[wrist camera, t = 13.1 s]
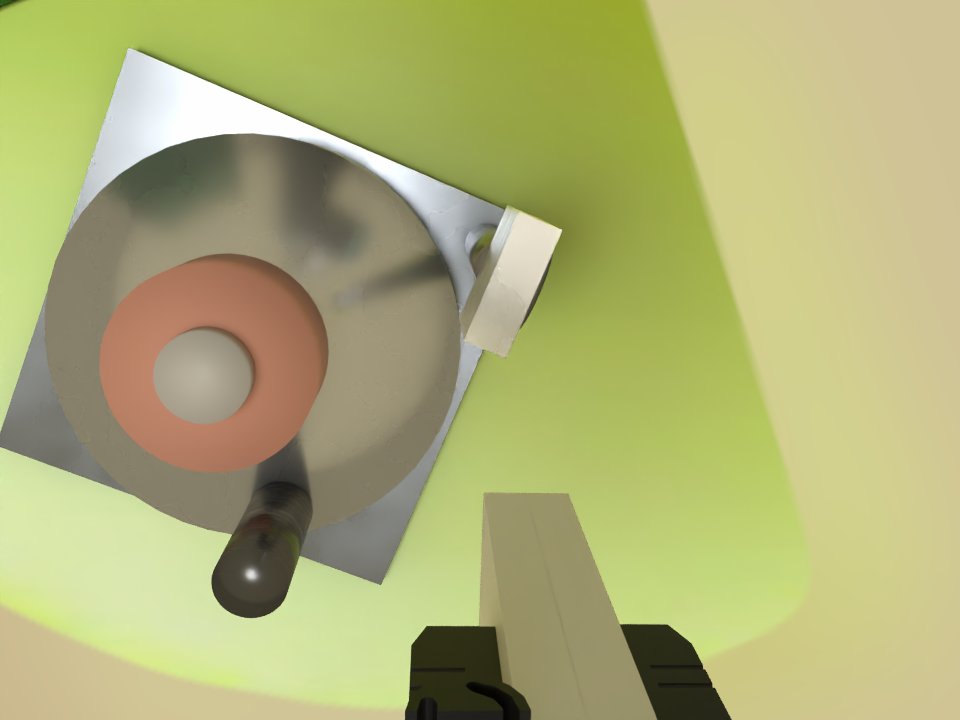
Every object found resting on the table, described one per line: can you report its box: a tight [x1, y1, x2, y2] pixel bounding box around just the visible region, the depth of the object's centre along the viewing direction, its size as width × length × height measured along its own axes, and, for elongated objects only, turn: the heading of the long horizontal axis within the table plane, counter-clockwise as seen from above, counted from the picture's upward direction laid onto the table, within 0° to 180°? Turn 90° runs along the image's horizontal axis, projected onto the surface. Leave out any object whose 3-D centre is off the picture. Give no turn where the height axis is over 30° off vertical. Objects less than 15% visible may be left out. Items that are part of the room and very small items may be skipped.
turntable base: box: [0, 48, 562, 585], centre depth 29 cm, size 16×16×12 cm
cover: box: [100, 253, 329, 473], centre depth 31 cm, size 7×7×4 cm
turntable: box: [45, 133, 461, 618], centre depth 31 cm, size 15×15×8 cm
